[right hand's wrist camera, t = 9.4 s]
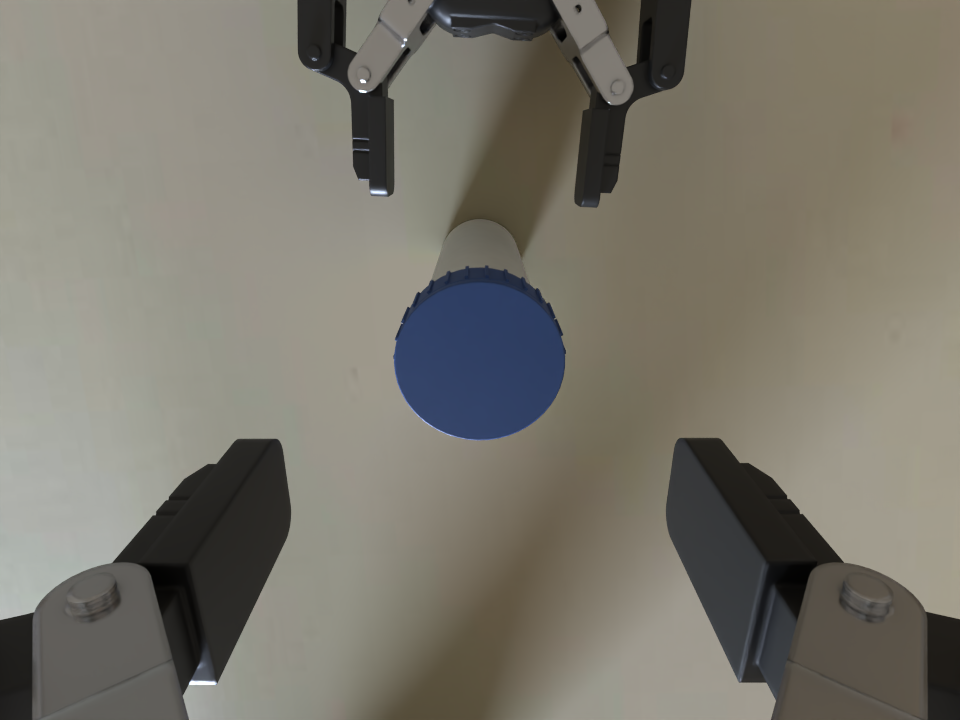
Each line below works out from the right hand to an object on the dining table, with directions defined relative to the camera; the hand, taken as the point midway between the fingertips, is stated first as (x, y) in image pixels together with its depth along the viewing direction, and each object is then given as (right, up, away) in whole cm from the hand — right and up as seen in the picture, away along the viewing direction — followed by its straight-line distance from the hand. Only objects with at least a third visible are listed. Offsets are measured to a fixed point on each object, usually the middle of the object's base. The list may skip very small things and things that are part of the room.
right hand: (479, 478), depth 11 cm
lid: (0, +2, +6) cm, 6 cm away
